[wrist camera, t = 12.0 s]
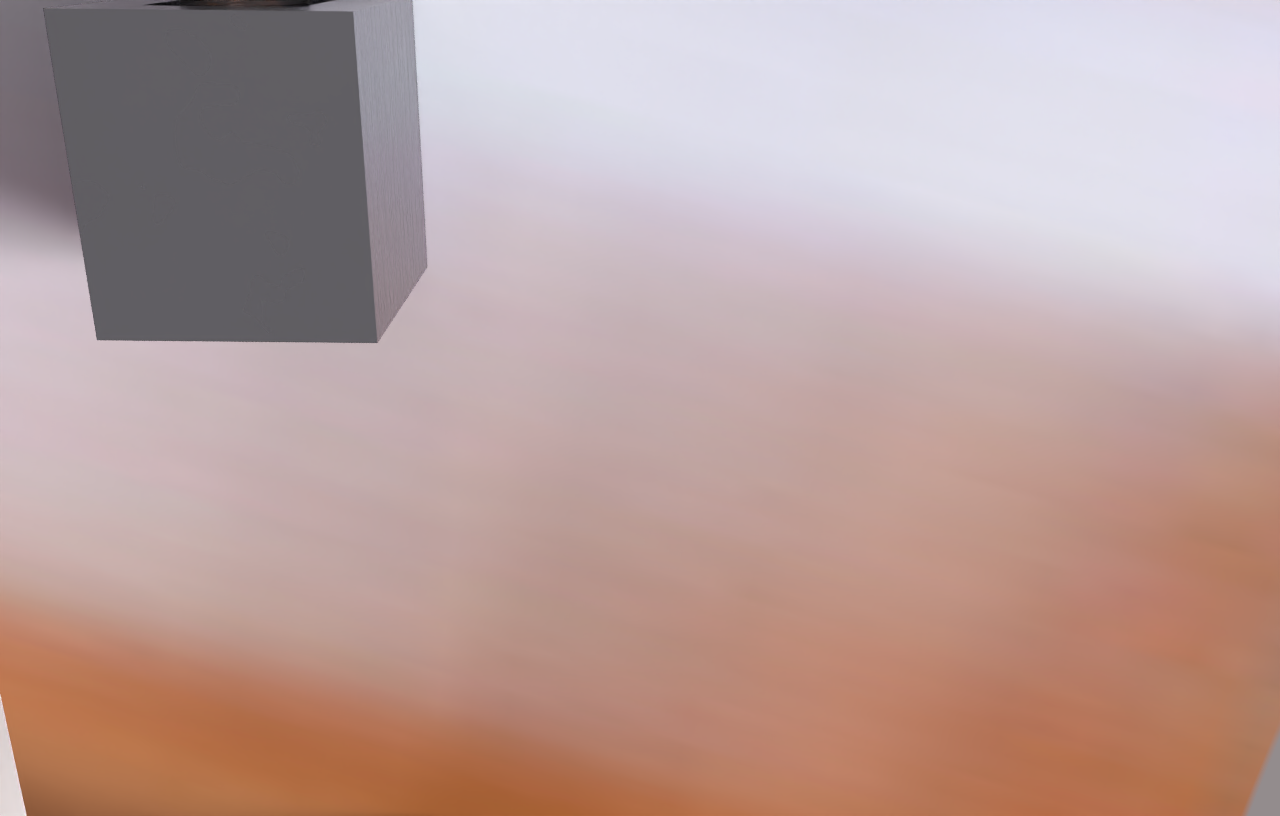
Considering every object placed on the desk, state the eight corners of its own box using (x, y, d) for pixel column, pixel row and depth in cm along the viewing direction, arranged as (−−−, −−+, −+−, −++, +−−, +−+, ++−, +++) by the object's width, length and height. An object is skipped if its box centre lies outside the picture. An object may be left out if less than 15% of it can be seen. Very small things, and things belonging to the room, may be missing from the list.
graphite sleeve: (427, 267, 42) (377, 342, 34) (199, 264, 42) (97, 339, 34) (412, -4, 39) (353, 11, 31) (164, -7, 39) (43, 8, 31)
